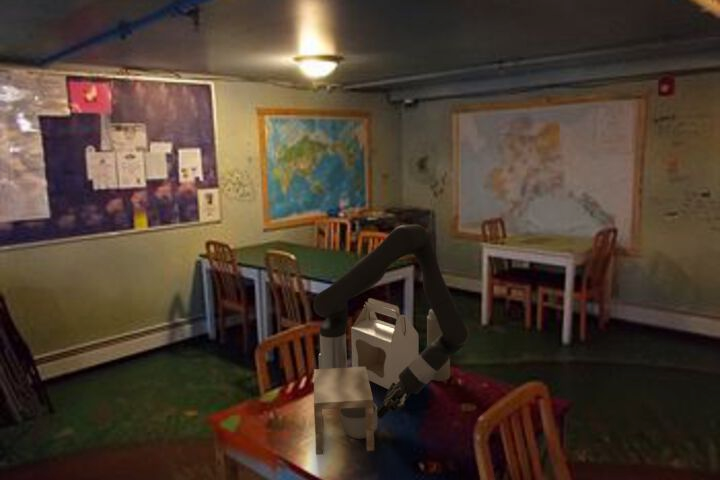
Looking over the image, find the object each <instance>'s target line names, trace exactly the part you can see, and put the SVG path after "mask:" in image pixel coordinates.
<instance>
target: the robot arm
mask: <svg viewBox="0 0 720 480" xmlns="http://www.w3.org/2000/svg"><path fill="white" fill-rule="evenodd" d="M411 255H413V256H414V258H415V259H416V260H417V262H418V264H419V266H420V269H421V276H422V287H423V291H424V295H425V297H426V300H427V302H428V304H429V306H430V309H432V311H433V312H434V314H435V316H436V318H437V321H438V324H439V326H440V329H441V331H442V334H441V336H440V337H439V338H438V339H437V340H436V341H434V342H432V343H431V344H430V345H428V346H427V345H426V347H425V348H424V350H423V351H422V352H420V353H419V356H417V357H416V358H415V359H414V360H413V361H412V362H411V363H410V364H409V365H408V366H407V367H406V368H405V369H404V370H403V371H402V372H401V373H400V374H399V379H400V381H399V382H398V383H397V384H395V383H394V382H393V383H392V384H391V386H390V388H389V389H387V392H386V394H385V395H384V398H383V399H384V401H383V403H382V404H381V405H380V406H379V407H377V418H379V419H381V420H382V419H383V418H384V417H385V416H386V414H387V413H388V412H389V411H391V413H394V412H396V411H398V410H400V409H403V408H405V407H406V403H405V401H406V400H407V399H408V398H409V396H410V395H411V394H412V393H413V394H414V395H418V394H419V393H420V392H421V390H422V389H423V388H424V387H425V386H426V385H427V384H428V383H429V382H430V381H432V380H431V379H432V378H433V377H434V375H435V374H436V373H437V371H438V370H439V369H440V368H441V367H442V366H443V365H444V364H445V363H446V362H447V361H448V359H449V358H451V357H452V356H454V355H455V354H457V352H459V350H461V348H463V347H464V346H465V345H466V344H467V343H468V342H469V340H470V337H471V330H470V328H469V326H468V325H467V324H466V323H465V322H464V321H463V319H462V316H461V315H460V313H459V311H458V309H457V304H456V301H455V300H454V297H453V296H452V294H451V291H450V289H449V287H448V286H447V284H446V282H445V279H444V277H443V274H442V272H441V269H440V266H439V263H438V259H437V258H436V257H437V256H436V253H435V251H434V248H433V244H432V241H431V239H430V236H429V234H428V231H427V229H426V228H425V227H424V226H422V225H421V224H416V223H415V224H413V223H412V224H402V225H398V226H397V227H395V228H394V229H393V230H392V231H391V232H390V233H388V235H387V236H386V237H385V238H384V239H383V241H382V242H380V244H379V245H378V246H376V247H375V248H374V249H373V250H371V251H370V252H369V253H368V254H365V256H364V257H362V259H359V260H358V261H357V262H356V263H355V264H354V265H353V266H352V267H350V268H349V269H348V270H347V271H346V272H345V273H344V274H343V275H342V276H340V278H338V279H337V280H336V281H335V282H334V283H333V284H331V285H329V287H327V288H325V289H323V290H322V291H320V292H318V293H317V294H316V295H315V297H314V298H313V304H312V305H313V306H312V308H313V311H314V312H315V314H316V315H318V316H319V317H322V318H325V320H324V321H323V322H322V323H321V325H320V326H319V343H320V344H319V345H320V347H319V349H320V352H319V354H318V356H317V357H318V369H331V368H348V363H347V362H348V361H347V334H346V332H347V331H346V330H347V326H348V318H349V303H348V301H349V300H350V299H353V298H355V297H357V296H359V295H362V294H363V293H365V292H366V291H368V290H369V289H371V288H372V287H374V286H375V285H376V284H377V283H379V282H380V281H382V279H383V278H384V276H385V274H386V272H387V270H388V268H389V267H390V266H391V265H392V264H393V263H395V262H396V261H398V260H400V259H401V258H403V257H406V256H411Z"/></svg>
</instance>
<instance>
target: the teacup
mask: <svg viewBox="0 0 720 480" xmlns="http://www.w3.org/2000/svg"><path fill="white" fill-rule="evenodd" d="M377 410H378V406H377V405H376V403H375V402H373V415H374V432H376V430H377V428H378V421H379V420H378V416H377ZM339 413H340V420H341V421H340V422H341V426H342V427H341V428H342V429H343V432H344V433H345V434H346V435H347V436H349V437H350V438H353V439H357V440H358V439H359V440H362V439H366V411H365V407H358V408H342V409H339Z"/></svg>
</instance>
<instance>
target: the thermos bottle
mask: <svg viewBox="0 0 720 480" xmlns="http://www.w3.org/2000/svg"><path fill="white" fill-rule="evenodd" d="M426 326H427V328H426V329H427V330H426V331H427V332H426V338H427V339H426V347H427V346H428V345H430V344H431V343H432V342H434V341H436V340H437V339H438V338H439V337H440V336H441V334H442V331H441V329H440V326H439V324H438V321H437V318H436V316H435V314H434V312H433V311H432V309H431V308H430V309H429V310H428V315H427V317H426ZM450 358H451V357H450ZM450 358H449V359H448V361H447V362H446V363H445V364H444V365H443V366H442V367H441V368H440V369H439V370H438V371H437V373H436V374H435V375H434V377H433V378H432V379H431V380H430V381H434V380H435V382H443V381H447V380H449V379H450V378H451V370H450V369H451V366H450V365H451V359H450Z"/></svg>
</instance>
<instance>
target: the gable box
mask: <svg viewBox="0 0 720 480" xmlns="http://www.w3.org/2000/svg"><path fill="white" fill-rule="evenodd" d="M364 303H365V304H363V308H362V309H361V311H360V313H359V315H357V318H356V319H355V321H354V323H353V324H352V326H351V328H350V331H351V332H350V335H351V338H350V340H351V364H352V366H351V367H366V371H367V375H368V379H369V382H371V383H374V384H376V385H379V386H380V387H383V388H385V389H387V390H389V388H390V386H391V384H392V383H393V382H394V383H395V384H397V383H398V382H399V381H400V379H399V374H400V373H401V372H402V371H403V370H404V369H405V368H406V367H407V366H408V365H409V364H410V363H411V362H412V361H413V360H414V359H415V358H416V357H417V356H419V355H420V353H419V347H420V346H419V340H420V339H419V333H418V331H417V329H415V327H414V325H412V323H411V322H410V320H409V319H408V317H407V316H406V315H404V314H401V308H400V306H398V305H396V304H392V303H388V302H385V301H382V300H379V299H376V298H372V297H369V298H368V299H367V301H365V302H364ZM376 313H378V314H380V315H384V316H387V317H390V318H393V319H395V324H392V323H389V322H386V321H382V320H380V319H378V318H377V314H376Z"/></svg>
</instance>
